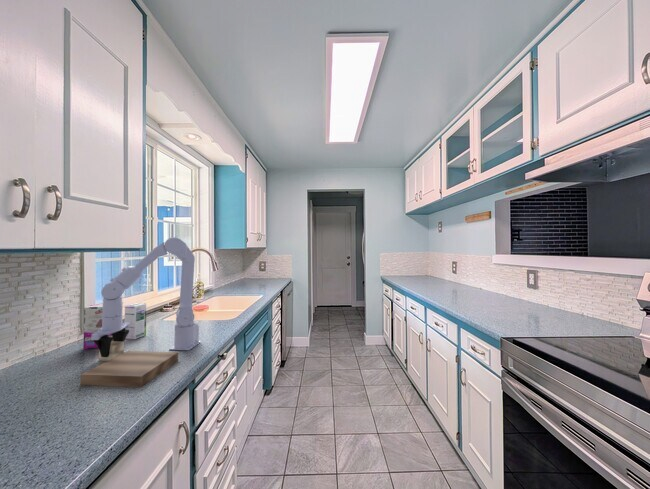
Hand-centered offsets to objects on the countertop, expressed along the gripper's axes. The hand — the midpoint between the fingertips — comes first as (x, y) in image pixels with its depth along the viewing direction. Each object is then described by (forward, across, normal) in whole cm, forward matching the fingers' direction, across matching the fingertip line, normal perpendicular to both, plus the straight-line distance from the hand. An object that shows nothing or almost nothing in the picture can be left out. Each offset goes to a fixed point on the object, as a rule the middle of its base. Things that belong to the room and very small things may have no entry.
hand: (111, 353), depth 97 cm
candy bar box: (+2, -10, -12) cm, 16 cm away
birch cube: (+2, 0, 0) cm, 2 cm away
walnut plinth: (+1, +10, +16) cm, 19 cm away
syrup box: (+2, -22, -8) cm, 23 cm away
